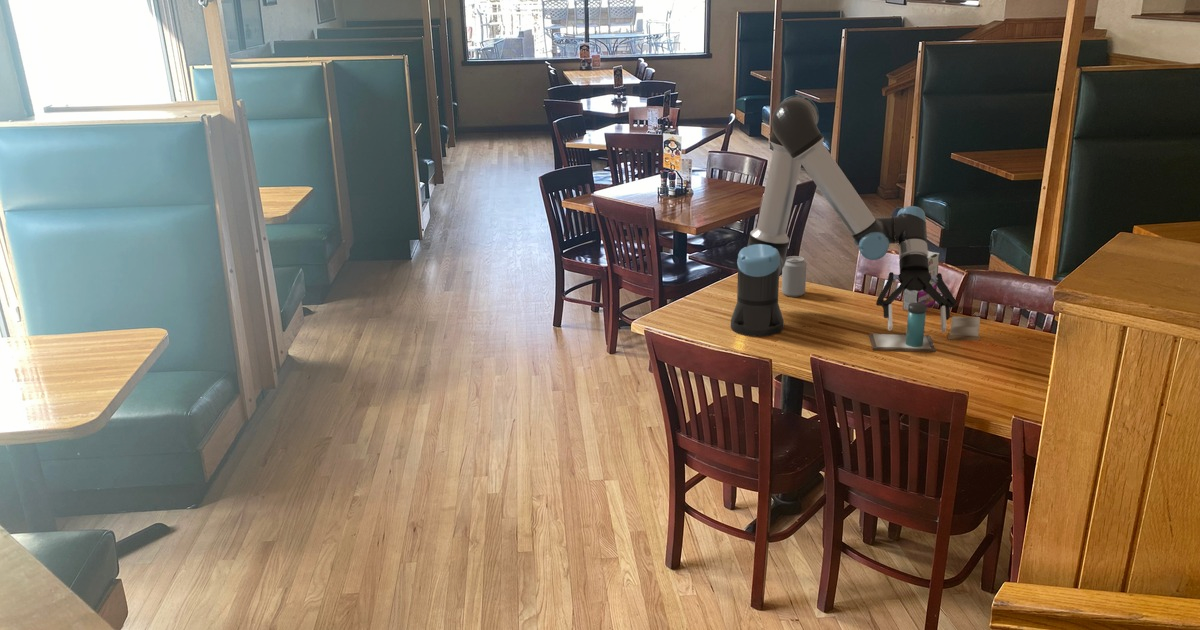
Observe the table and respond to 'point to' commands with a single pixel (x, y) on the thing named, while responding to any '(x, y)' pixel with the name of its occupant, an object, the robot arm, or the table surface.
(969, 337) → the word sign
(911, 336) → the teal lidded bottle
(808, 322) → the table surface
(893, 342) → the grey flat rectangular slab
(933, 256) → the candy bar box
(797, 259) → the can
